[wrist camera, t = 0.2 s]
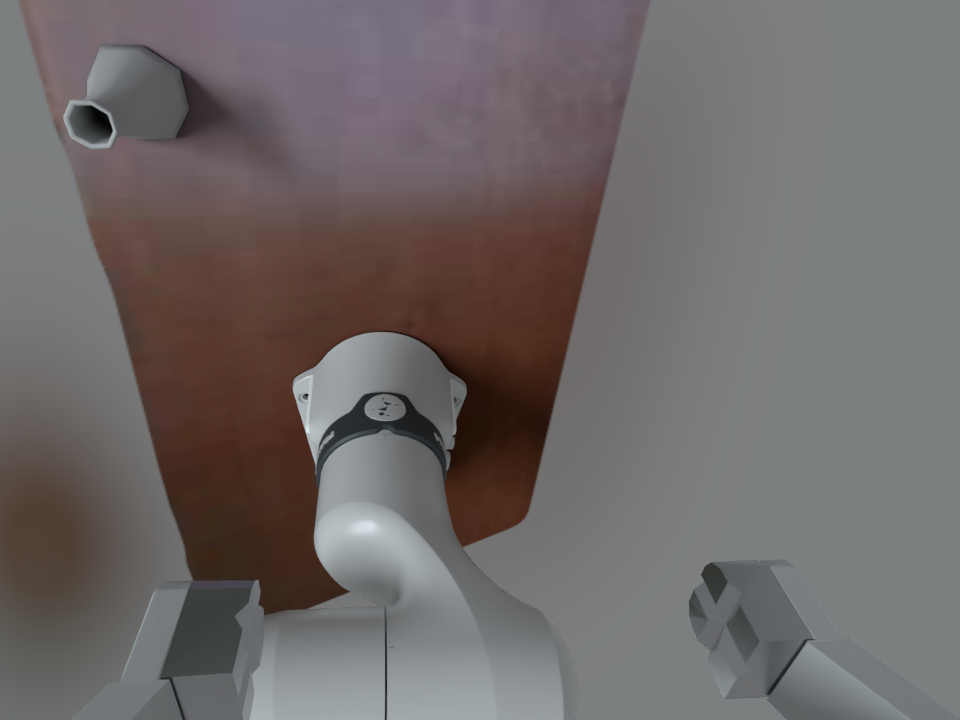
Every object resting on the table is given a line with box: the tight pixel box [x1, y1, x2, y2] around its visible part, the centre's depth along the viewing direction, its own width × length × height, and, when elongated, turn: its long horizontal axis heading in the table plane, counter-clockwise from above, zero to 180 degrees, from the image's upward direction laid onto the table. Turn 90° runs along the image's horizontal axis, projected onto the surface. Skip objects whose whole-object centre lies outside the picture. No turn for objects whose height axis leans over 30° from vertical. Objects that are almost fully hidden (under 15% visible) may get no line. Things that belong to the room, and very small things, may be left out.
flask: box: [63, 45, 189, 149], centre depth 43 cm, size 7×7×10 cm
